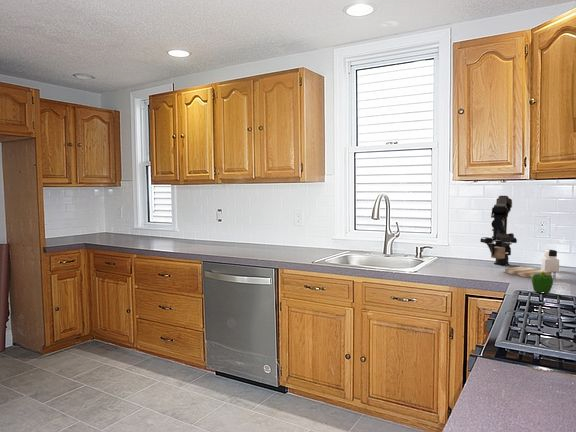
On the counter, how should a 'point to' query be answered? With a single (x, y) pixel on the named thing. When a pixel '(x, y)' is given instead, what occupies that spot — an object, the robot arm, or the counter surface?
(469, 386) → the counter surface
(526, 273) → the birch base
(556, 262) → the medicine bottle
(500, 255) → the walnut block
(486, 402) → the counter surface
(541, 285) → the bell pepper
